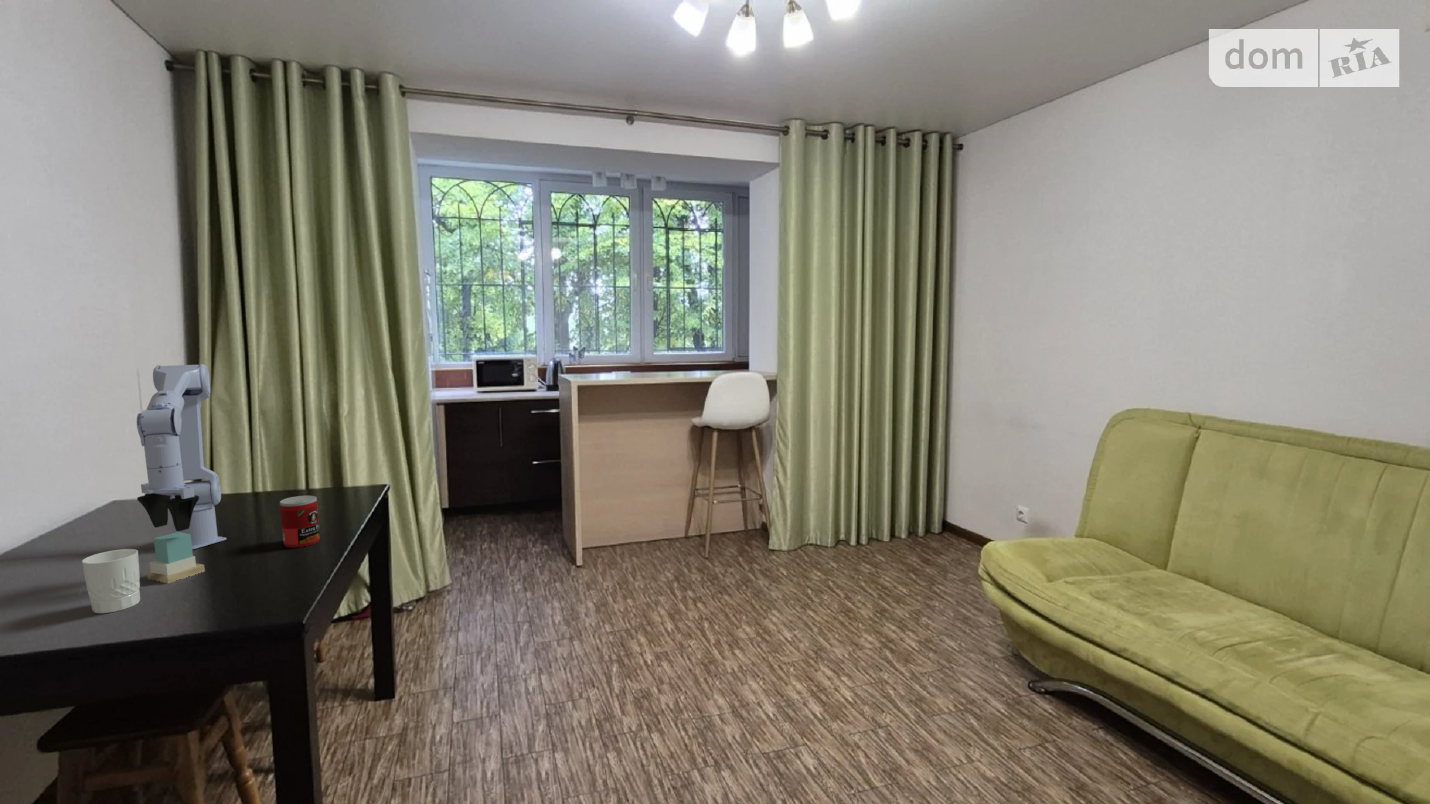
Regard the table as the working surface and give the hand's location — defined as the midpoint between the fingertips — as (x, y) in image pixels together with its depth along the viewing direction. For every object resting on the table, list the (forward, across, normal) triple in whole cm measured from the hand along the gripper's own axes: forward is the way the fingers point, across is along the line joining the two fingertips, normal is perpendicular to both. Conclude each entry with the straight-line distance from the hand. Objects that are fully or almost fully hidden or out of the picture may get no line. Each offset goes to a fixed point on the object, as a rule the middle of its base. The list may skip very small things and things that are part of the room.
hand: (171, 528), depth 139 cm
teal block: (+7, 0, 0) cm, 7 cm away
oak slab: (+11, 0, 0) cm, 11 cm away
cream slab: (+9, 0, -1) cm, 9 cm away
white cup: (+11, +7, -14) cm, 19 cm away
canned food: (+11, +6, +24) cm, 27 cm away
